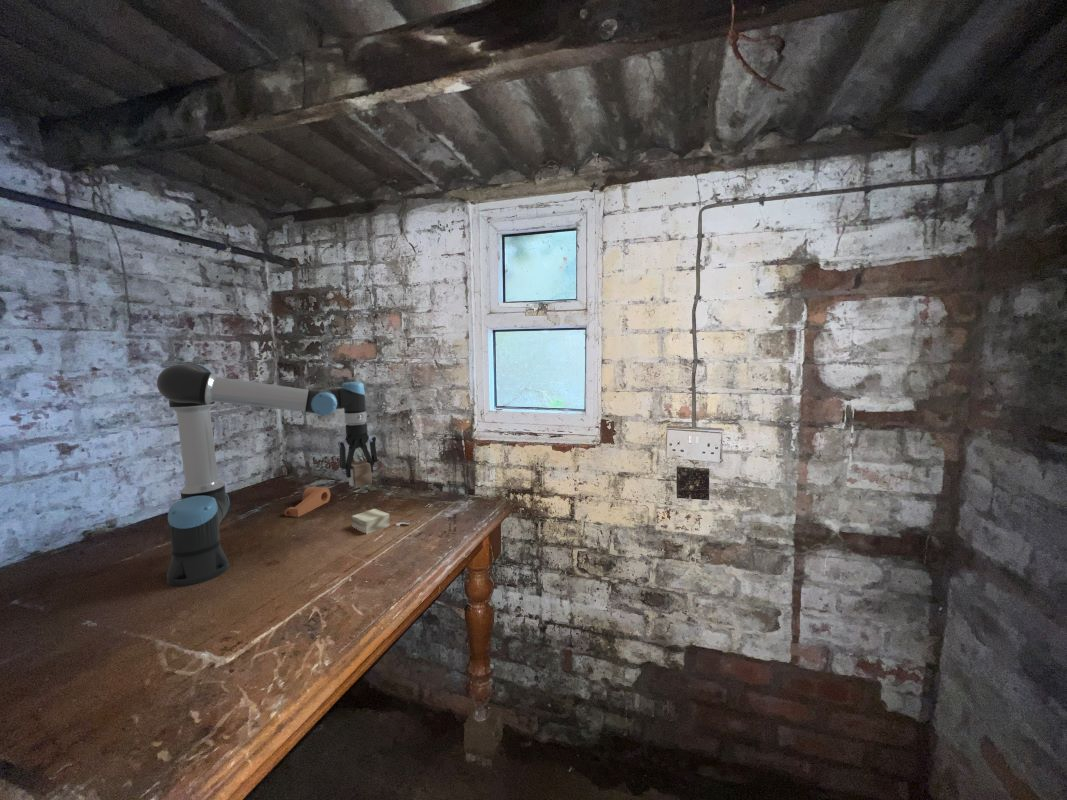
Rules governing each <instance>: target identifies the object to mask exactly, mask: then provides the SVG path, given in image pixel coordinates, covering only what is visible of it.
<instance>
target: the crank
mask: <svg viewBox="0 0 1067 800" xmlns="http://www.w3.org/2000/svg"><path fill="white" fill-rule="evenodd" d="M330 490H331V489H329V488H327V487H321V486H319V487H317V486H308V487H306V488H305V490H304V491H303V493H302V500H301V502H299V503H298V504H297V505H295V506H294V507H293V506H290V507H288V508H286V509H285V510H284V512H283V514H284V516H285V517H295V518H299V517H301V516H303V515H305V514H307V513H309V512H311V511H313V510H315V509H316V508H318V507H321V506H323V505H324V504H326V503H329V501H330V499H331V491H330Z"/></svg>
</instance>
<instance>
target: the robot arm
mask: <svg viewBox="0 0 1067 800" xmlns="http://www.w3.org/2000/svg"><path fill="white" fill-rule="evenodd" d="M156 387H157V390H158V392H159V394H161V396H162V397H164V398H165V399H166V400H168V405H169V406H168V407H169V409H171V410H173V411H174V412H175V413H176V419H177V428H178V433H179V442H180V443H179V444H180V451H181V458H182V466H183V473H184V474H183V475H184V483H185V485H184V486H183V487H182V489H181V490H180V491H179V492H180V493H179V494H180V500H177V501H176V502H174V503H173V504H172V505H170V507H169V509H168V512H167V522H168V527H169V528H168V529H169V536H170V537H169V538H170V548H171V559H170V563H169V567H168V570H167V573H166V578H165V579H166V583H167V584H168V585H170V586H172V587H188V586H194V585H198V584H202V583H205V582H208V581H211V580H213V579H215V578H218V577H219V576H221V575H223V574H225V572H226V571H228V570H229V567H230V563H229V558H228V557H227V555H226V553H225V552H224V550H223V548H222V547H221V536H220V523H221V522H222V520H223V519H224V518H225V516H226V515H227V514H228V512H229V508H230V497H229V495H228V494H227V492H226V486H225V482H223V481H221V480H220V479H219V474H218V473H219V472H218V467H217V456H216V448H215V441H214V440H215V439H214V432H213V423H212V416H211V414H212V413H211V409H212V408H213V407H214V406H215V405H216V403H222V404H223V403H224V404H232V405H242V406H250V407H257V408H266V409H276V410H285V411H293V412H302V413H308V414H309V413H310V414H317V415H318V416H329V415H331V414H333V413H334V412H335V410H341V409H343V411H344V412H343V413H344V424H345V438H344V440H342V441H338V443H337V445H338V447H339V467H340V468H341V469H342V470H345V477H346V478H347V479H348V485H349V486H351V487H353V486H354V479H353V469H351V465H352V463H353V459H354V456H355V452H356V449H361V450H362V453H363V456H364V459H365V462H368V463H370V467H371V474H372V473H374V465H375V463H377V462H378V454H377V447H376V440H377V437H376V436H369V434H368V423H366V422H367V421H368V420H367V419H368V418H367V408H366V406H367V405H366V393H365V392H366V391H365V385H364V383H363V382H361V381H349V382H342V385H341V388H339V387H338V388H323V389H317V388H316V389H308V388H307V389H305V388H298V387H292V386H284V385H278V384H270V383H263V382H256V381H248V380H247V381H246V380H241V379H236V378H235V379H234V378H227V377H221V376H220V377H219V376H217V375H216V374H215V373H214V372H212V371H211V370H210V369H209V368H207V367H205V366H203V365H201V364H197V363H183V364H172V365H170V366H167V367H166V368H165V369H163V370H162V371H161V372H160V373H159V374H158V377H157V379H156ZM367 442H369V448H370V449H369V450H370V451H369V450H368V446H367ZM347 445H348V453H346V450H347V449H346V446H347ZM346 454H347V456H346ZM371 482H372V483H373V479H372V478H371Z"/></svg>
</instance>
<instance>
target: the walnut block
mask: <svg viewBox="0 0 1067 800" xmlns="http://www.w3.org/2000/svg"><path fill="white" fill-rule="evenodd" d="M351 469H353V479H354V486H352V487H354V488H356V489H357V488H360V487H366V486H369V485H372V484H373V481H372V482H371V479H372V473H371V467H370V463H368V462H367V461H366V460H365V461H364V460H362V461H356V462H352V465H351Z"/></svg>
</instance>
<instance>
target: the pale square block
mask: <svg viewBox="0 0 1067 800" xmlns="http://www.w3.org/2000/svg"><path fill="white" fill-rule="evenodd" d="M390 519H391V518H390V513H388V512H385V511H382V510H380V509H377V508H372V509H369V510H366V511H362V512H361V513H360V512H359V513H357V514H354V515H351V528H352V527H353V528H352V529H354V528H355V529H354V530H356V529H357V531H359V532H360V533H363V534H365V533H366V534H365V535H369V534H371V533H374V532H376V531H379V530H382V529H385V528H387V527H390V526H391V522H390V521H391V520H390ZM368 533H369V534H368Z"/></svg>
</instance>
